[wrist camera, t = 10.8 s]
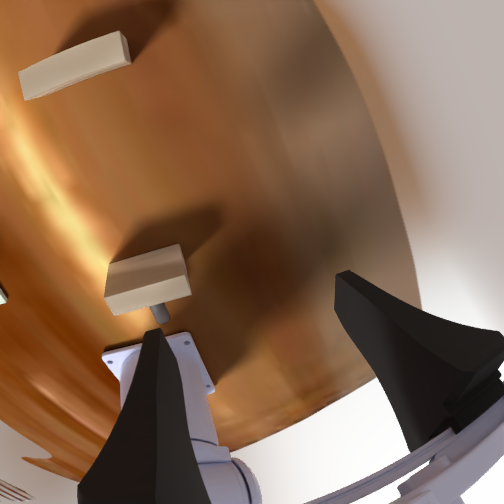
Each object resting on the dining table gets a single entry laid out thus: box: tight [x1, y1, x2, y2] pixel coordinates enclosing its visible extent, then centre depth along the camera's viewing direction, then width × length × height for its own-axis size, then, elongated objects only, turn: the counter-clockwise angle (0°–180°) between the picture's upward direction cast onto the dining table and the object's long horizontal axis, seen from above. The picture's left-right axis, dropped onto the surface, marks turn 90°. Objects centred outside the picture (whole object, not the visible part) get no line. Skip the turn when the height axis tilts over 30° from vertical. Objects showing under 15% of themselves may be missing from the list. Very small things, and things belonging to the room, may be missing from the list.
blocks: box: [18, 31, 192, 324], centre depth 16 cm, size 17×5×4 cm, turn 7°
